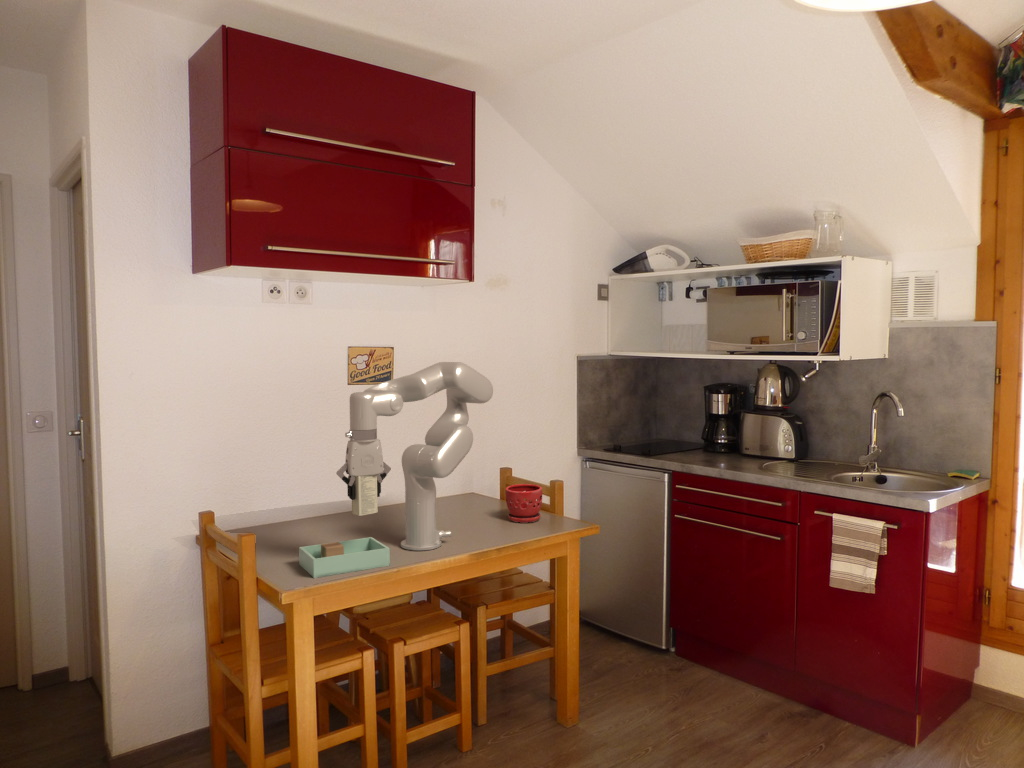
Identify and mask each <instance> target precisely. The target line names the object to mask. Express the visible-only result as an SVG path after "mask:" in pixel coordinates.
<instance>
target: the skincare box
mask: <svg viewBox="0 0 1024 768" xmlns="http://www.w3.org/2000/svg"><path fill="white" fill-rule="evenodd" d="M353 485H354V486H355V499H354V500H352V499H351V514H353V515H356V516H358V517H361V516H367V515H373V514H376V513H378V509H379V508H378V507H379V506H378V497H377V475H370V476H358V477H356V478H355V481H354V483H353Z"/></svg>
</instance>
